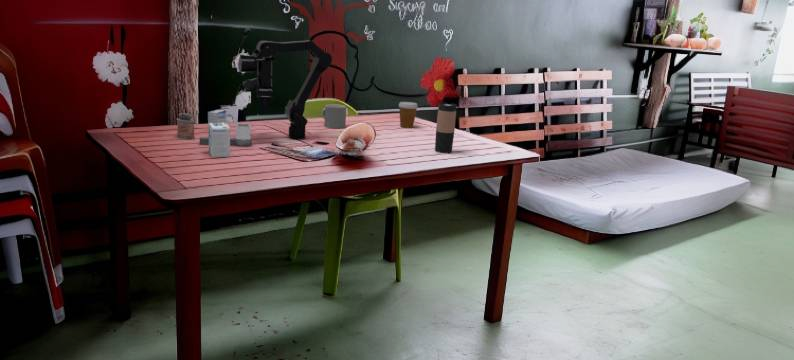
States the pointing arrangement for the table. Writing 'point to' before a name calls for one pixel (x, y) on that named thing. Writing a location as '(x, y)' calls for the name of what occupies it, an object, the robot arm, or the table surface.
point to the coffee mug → (334, 116)
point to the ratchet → (232, 142)
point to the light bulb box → (219, 140)
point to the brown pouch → (185, 126)
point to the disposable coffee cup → (407, 114)
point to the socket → (243, 131)
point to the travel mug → (445, 127)
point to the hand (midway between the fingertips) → (264, 110)
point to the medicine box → (216, 117)
